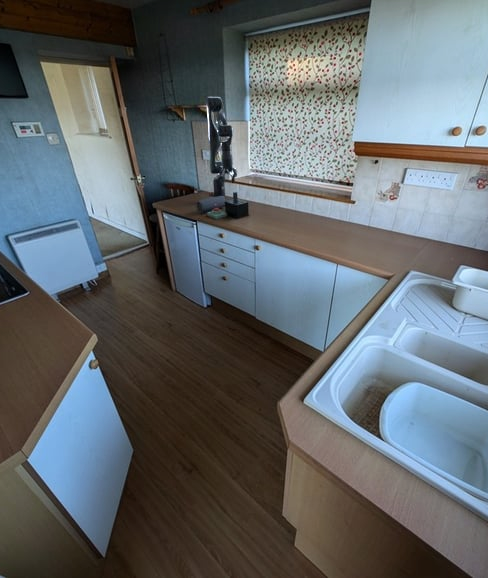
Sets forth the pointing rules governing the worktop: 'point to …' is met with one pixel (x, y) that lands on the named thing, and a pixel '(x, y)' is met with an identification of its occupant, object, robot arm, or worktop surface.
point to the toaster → (236, 208)
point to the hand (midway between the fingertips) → (228, 182)
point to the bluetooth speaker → (211, 204)
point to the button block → (216, 214)
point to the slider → (235, 195)
